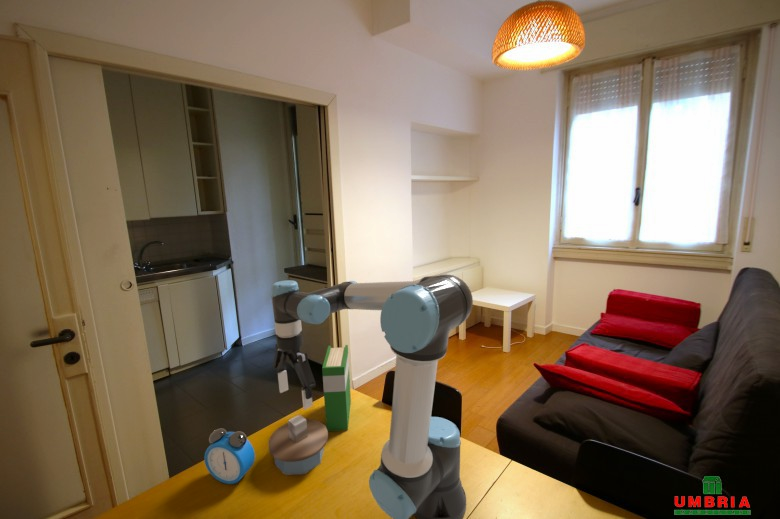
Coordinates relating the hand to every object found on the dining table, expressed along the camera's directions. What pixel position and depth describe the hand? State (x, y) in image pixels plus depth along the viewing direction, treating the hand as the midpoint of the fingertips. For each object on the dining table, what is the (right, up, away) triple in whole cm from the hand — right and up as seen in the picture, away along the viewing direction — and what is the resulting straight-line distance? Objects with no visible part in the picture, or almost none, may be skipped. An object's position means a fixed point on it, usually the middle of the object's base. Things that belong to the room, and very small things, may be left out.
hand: (295, 398), depth 111 cm
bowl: (0, -20, +4) cm, 21 cm away
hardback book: (+10, -16, +25) cm, 31 cm away
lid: (0, -14, +3) cm, 15 cm away
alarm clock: (-18, -22, -3) cm, 29 cm away
